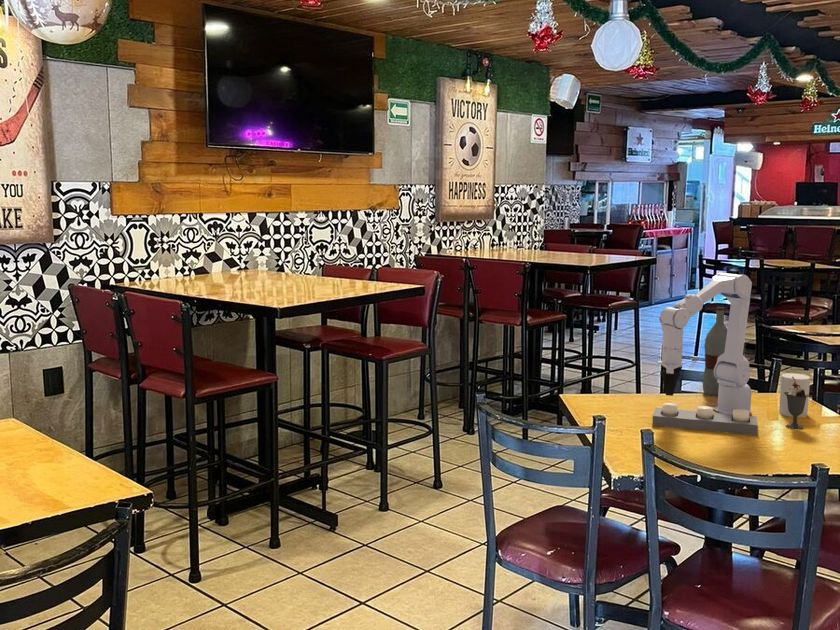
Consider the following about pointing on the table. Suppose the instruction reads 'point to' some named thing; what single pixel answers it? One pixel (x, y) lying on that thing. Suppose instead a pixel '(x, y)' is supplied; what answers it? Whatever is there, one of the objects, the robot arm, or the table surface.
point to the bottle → (714, 352)
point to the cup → (785, 386)
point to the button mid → (705, 412)
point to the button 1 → (669, 409)
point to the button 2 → (741, 415)
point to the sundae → (795, 403)
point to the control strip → (705, 422)
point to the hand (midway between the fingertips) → (670, 392)
